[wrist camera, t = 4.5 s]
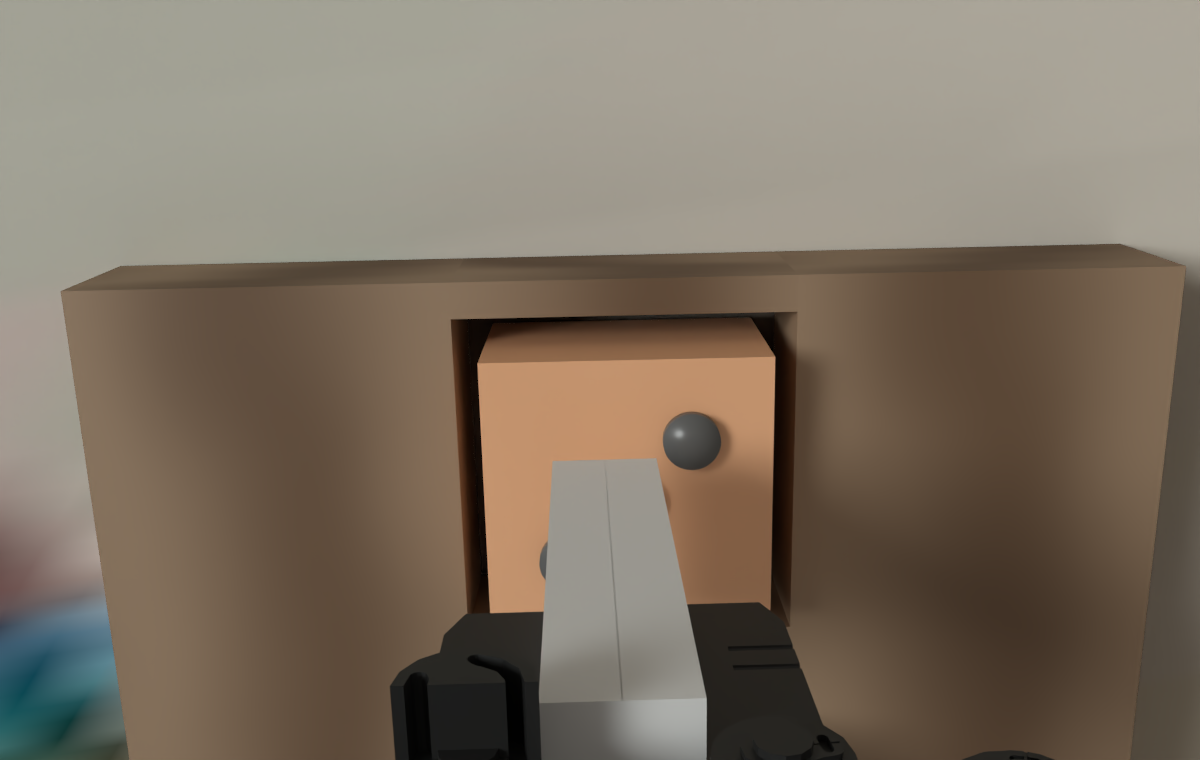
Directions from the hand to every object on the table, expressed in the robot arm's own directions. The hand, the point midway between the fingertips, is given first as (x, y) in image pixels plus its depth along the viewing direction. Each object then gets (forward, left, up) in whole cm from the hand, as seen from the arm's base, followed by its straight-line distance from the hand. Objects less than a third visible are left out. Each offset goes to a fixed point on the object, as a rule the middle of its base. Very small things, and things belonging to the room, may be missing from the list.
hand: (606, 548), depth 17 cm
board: (0, -6, -5) cm, 8 cm away
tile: (0, 0, -5) cm, 5 cm away
